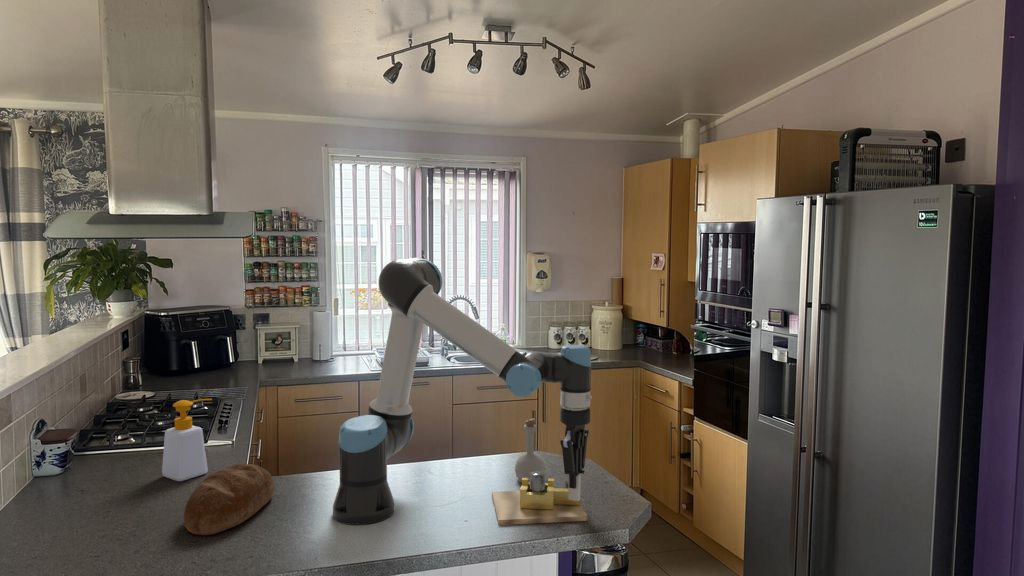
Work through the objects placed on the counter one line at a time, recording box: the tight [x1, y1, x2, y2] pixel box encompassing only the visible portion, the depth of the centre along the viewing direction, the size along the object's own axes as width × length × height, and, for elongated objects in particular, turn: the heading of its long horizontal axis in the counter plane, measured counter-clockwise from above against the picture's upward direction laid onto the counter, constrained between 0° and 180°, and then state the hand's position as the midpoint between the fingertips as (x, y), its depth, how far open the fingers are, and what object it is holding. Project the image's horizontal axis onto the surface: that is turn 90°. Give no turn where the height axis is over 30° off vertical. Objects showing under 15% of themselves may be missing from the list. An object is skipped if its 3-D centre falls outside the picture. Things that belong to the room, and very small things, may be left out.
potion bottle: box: [514, 417, 546, 484], centre depth 188 cm, size 9×9×18 cm
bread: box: [183, 463, 276, 536], centre depth 165 cm, size 16×29×11 cm, turn 174°
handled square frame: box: [519, 478, 582, 509], centre depth 168 cm, size 15×8×5 cm, turn 85°
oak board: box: [491, 490, 588, 526], centre depth 169 cm, size 22×18×1 cm
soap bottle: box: [161, 398, 213, 482], centre depth 192 cm, size 10×14×22 cm
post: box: [530, 471, 546, 493], centre depth 169 cm, size 4×4×9 cm
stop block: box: [564, 480, 569, 489], centre depth 172 cm, size 2×2×4 cm
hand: (574, 499), depth 166 cm, fingers closed
